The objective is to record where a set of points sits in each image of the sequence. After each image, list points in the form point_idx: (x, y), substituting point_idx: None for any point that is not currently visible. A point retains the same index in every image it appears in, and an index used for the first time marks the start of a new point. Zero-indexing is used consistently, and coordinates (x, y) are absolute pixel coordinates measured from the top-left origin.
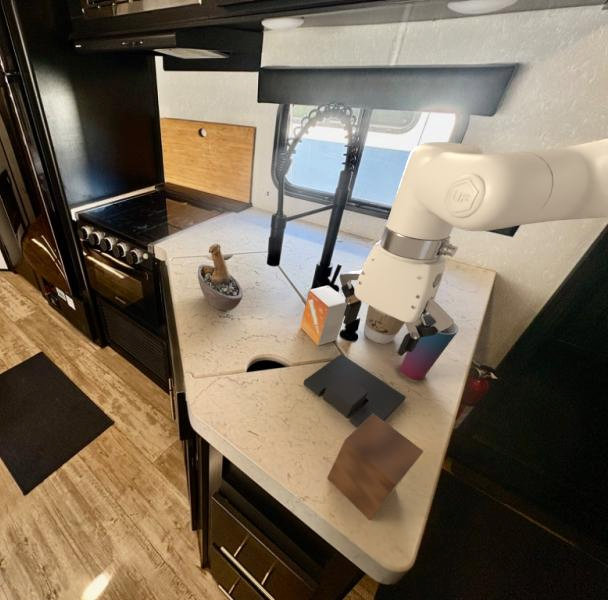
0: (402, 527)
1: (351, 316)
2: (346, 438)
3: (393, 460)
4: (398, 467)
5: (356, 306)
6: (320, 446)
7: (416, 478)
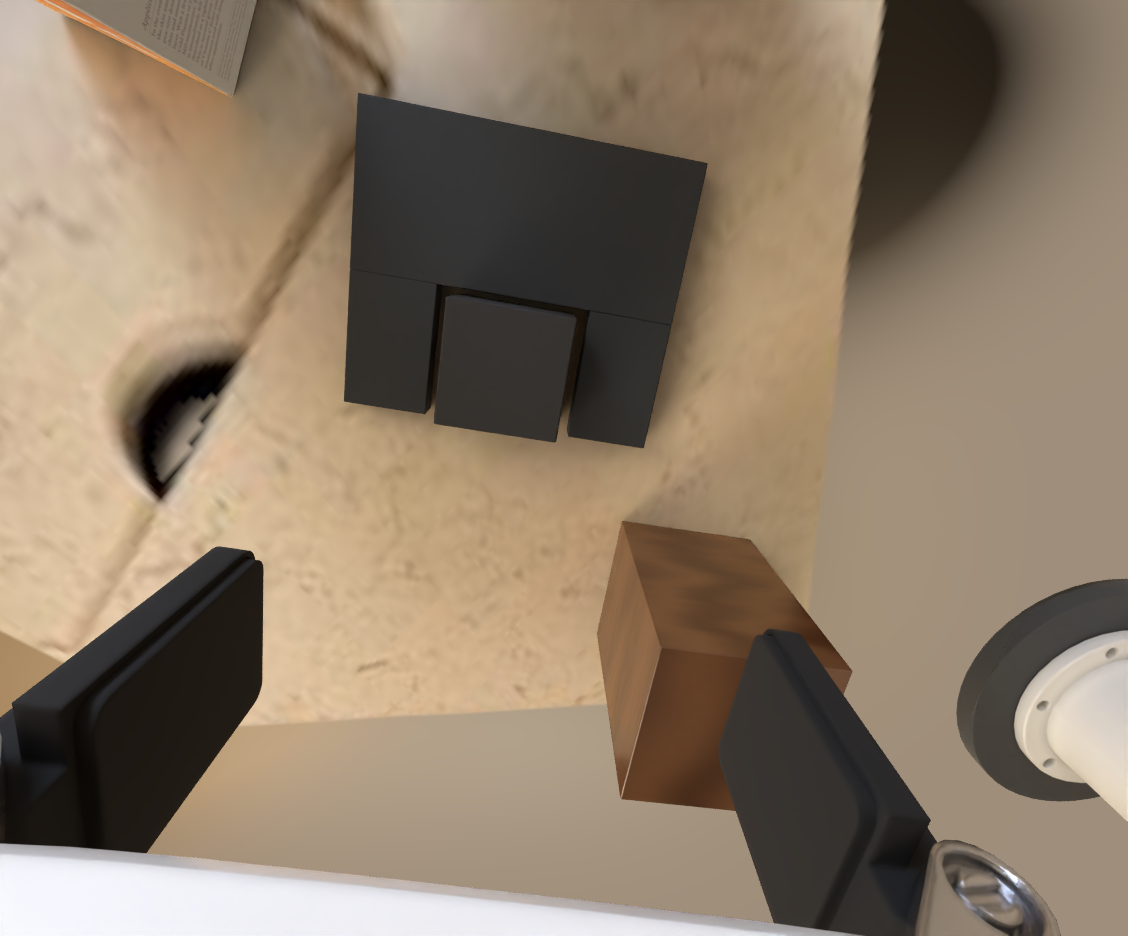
0: None
1: (212, 726)
2: (622, 790)
3: None
4: None
5: (120, 795)
6: (539, 571)
7: (793, 471)
